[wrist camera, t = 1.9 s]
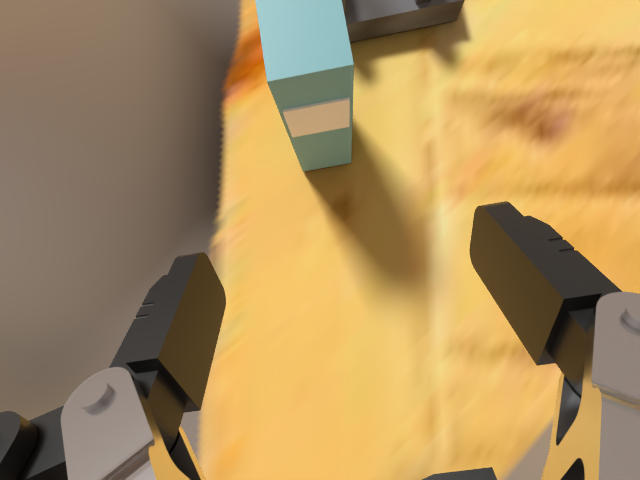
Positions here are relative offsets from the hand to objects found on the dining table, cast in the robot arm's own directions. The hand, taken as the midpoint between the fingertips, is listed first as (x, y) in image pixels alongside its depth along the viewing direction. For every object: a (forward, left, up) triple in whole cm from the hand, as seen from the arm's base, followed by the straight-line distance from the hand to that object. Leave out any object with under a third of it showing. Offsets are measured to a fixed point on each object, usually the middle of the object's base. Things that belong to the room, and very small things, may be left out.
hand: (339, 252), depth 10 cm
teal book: (-7, -9, -16) cm, 19 cm away
